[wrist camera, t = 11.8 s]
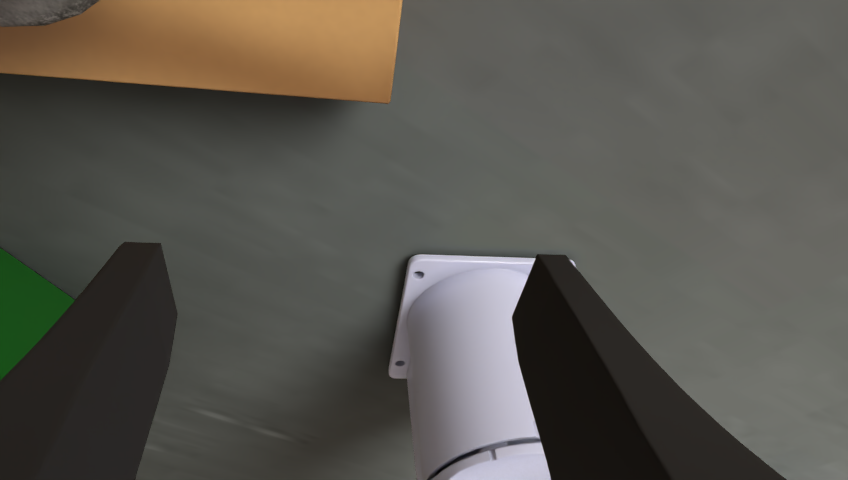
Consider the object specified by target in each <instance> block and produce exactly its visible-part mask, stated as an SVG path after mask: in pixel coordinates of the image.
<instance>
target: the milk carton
mask: <svg viewBox="0 0 848 480" xmlns="http://www.w3.org/2000/svg"><path fill="white" fill-rule="evenodd" d="M74 301H75V300H74V299H73V298H71V297H70V296H69V295H67V294H66V293H64V292H63V291H61V290H60V289H59V288H57V287H56V286H54V285H53V284H51V283H50V282H49V281H47V280H46V279H44V278H43V277H41V276H40V275H38V274H37V273H36V272H34V271H33V270H31V269H30V268H28V267H27V266H26V265H24V264H23V263H21V262H20V261H18V260H17V259H16V258H14V257H13V256H11V255H10V254H8V253H7V252H6V251H4V250H3V249H1V248H0V380H1V379H2V378H3V377H4V376H5V375H6V374H7V373H8V372H9V371H10V370H11V369H12V368H13V367H14V366H15V365H16V364H17V363H18V362H19V361H20V360H21V359H22V358H23V357H24V356H25V355H26V354H27V353H28V352H29V351H30V350H31V349H32V348H33V347H34V346H35V345H36V344H37V343H38V341H39V340H40V339H41V338H42V337H43V336H44V335H45V334H46V333H47V331H48V330H49V329H50V328H51V327H52V326H53V325H54V324H55V323H56V321H57V320H58V319H59V318H60V317H61V316H62V315H63V314H64V312H65V311H66V310H67V309H68V308H69V307H70V306H71V305H72V303H73V302H74Z"/></svg>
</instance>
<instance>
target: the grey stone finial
mask: <svg viewBox="0 0 848 480" xmlns="http://www.w3.org/2000/svg"><path fill="white" fill-rule="evenodd" d="M98 1H99V0H0V26H1V27H17V26H45V25H49V24H52V23H55V22H58V21H61V20H64V19H68V18H71V17H74V16H77V15H80V14H82V13H83V12H85V11H86V10H87V9H89V8H90V7H91V6H93V5H94V4H95V3H97V2H98Z"/></svg>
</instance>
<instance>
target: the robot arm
mask: <svg viewBox="0 0 848 480" xmlns="http://www.w3.org/2000/svg"><path fill="white" fill-rule="evenodd" d="M417 271H420V272H419V273H415V272H417ZM176 320H177V310H176V306H175V302H174V297H173V293H172V289H171V285H170V280H169V276H168V272H167V268H166V264H165V259H164V255H163V251H162V247H161V243H135V242H124V243H123V244H122V245H121V246H119V247H118V249H117V250H116V251H115V252H114V254H113V255H112V256H111V257H110V259H109V260H108V261H107V262H106V264H105V265H104V266H103V267H102V269H101V270H100V271H99V272H98V274H97V275H96V276H95V277H94V278H93V280H92V281H91V282H90V283H89V284H88V286H87V287H86V288H85V289H84V290H83V292H82V293H81V294H80V295H79V296H78V298H77V299H76V300H75V301H74V302H73V303H72V305H71V306H70V307H69V308H68V309H67V310H66V311H65V312H64V314H63V315H62V316H61V317H60V318H59V319H58V320H57V321H56V323H55V324H54V325H53V326H52V327H51V328H50V329H49V330H48V331H47V333H46V334H45V335H44V336H43V337H42V338H41V339H40V340H39V341H38V343H37V344H36V345H35V346H34V347H33V348H32V349H31V350H30V351H29V352H28V353H27V354H26V355H25V356H24V357H23V358H22V359H21V360H20V361H19V362H18V363H17V364H16V365H15V366H14V367H13V368H12V369H11V370H10V371H9V372H8V373H7V374H6V375H5V376H4V377H3V378H2V379H1V380H0V480H135V477H136V474H137V471H138V467H139V464H140V461H141V457H142V454H143V451H144V447H145V444H146V441H147V438H148V434H149V431H150V428H151V424H152V421H153V418H154V414H155V411H156V408H157V404H158V401H159V397H160V394H161V391H162V387H163V384H164V380H165V377H166V374H167V370H168V367H169V362H170V357H171V351H172V345H173V339H174V333H175V327H176ZM388 369H389V376H390V377H392V378H397V379H401V378H407V383H408V394H409V405H410V416H411V427H412V438H413V449H414V460H415V471H416V476H417V480H786V479H785V478H784V477H782V476H781V475H780V474H778V473H777V472H776V471H775V470H773V469H772V468H771V467H770V466H768V465H767V464H766V463H765V462H764V461H762V460H761V459H760V458H759V457H757V456H756V455H755V454H754V453H752V452H751V451H750V450H749V449H748V448H746V447H745V446H744V445H743V444H741V443H740V442H739V441H738V440H737V439H736V438H734V437H733V436H732V435H731V434H730V433H729V432H728V431H726V430H725V429H724V428H723V427H722V426H721V425H720V424H719V423H717V422H716V421H715V420H714V419H713V418H712V417H711V416H710V415H709V414H708V413H707V412H706V411H705V410H703V409H702V408H701V407H700V406H699V405H698V404H697V403H696V402H695V401H694V400H693V399H692V398H691V397H690V396H689V395H687V394H686V393H685V392H684V391H683V390H682V389H681V388H680V387H679V386H678V385H677V384H676V383H675V382H674V380H673V379H672V378H671V377H670V376H669V375H668V374H667V373H666V372H665V371H664V370H663V369H662V368H661V367H660V366H659V365H658V364H657V363H656V362H655V361H654V360H653V358H652V357H651V356H650V355H649V354H648V353H647V352H646V351H645V350H644V349H643V347H642V346H641V345H640V344H639V343H638V342H637V341H636V340H635V338H634V337H633V336H632V335H631V334H630V333H629V332H628V330H627V329H626V328H625V327H624V326H623V325H622V323H621V322H620V321H619V320H618V319H617V317H616V316H615V315H614V314H613V313H612V311H611V310H610V309H609V308H608V307H607V305H606V304H605V303H604V302H603V301H602V299H601V298H600V297H599V296H598V294H597V293H596V292H595V291H594V290H593V288H592V287H591V286H590V285H589V283H588V282H587V281H586V280H585V278H584V277H583V276H582V275H581V273H580V272H579V271H578V270H577V268H576V266H575V263H574V261H572V260H569V259H568V258H567V256H566V255H541V254H537V256H536V258H516V257H486V256H456V255H425V254H419V255H415V256H412V257H411V258H410V259H409V261H408V266H407V271H406V277H405V282H404V287H403V293H402V298H401V304H400V309H399V314H398V320H397V325H396V331H395V336H394V341H393V347H392V352H391V358H390V363H389V368H388Z"/></svg>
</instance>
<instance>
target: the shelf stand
mask: <svg viewBox="0 0 848 480" xmlns="http://www.w3.org/2000/svg"><path fill="white" fill-rule="evenodd" d="M402 2H403V0H99V1H98V2H97V3H95V4H94V5H93V6H91V7H90V8H89V9H87V10H86V11H85V12H83V13H82V14H80V15H77V16H74V17H71V18H68V19H64V20H61V21H58V22H55V23H52V24H49V25H45V26H17V27H1V26H0V73H6V74H19V75H32V76H44V77H57V78H70V79H82V80H95V81H108V82H120V83H133V84H146V85H158V86H171V87H184V88H196V89H209V90H222V91H234V92H247V93H260V94H272V95H285V96H298V97H310V98H323V99H336V100H348V101H361V102H374V103H386V104H388V103H389V102H390V101H391V92H392V84H393V76H394V68H395V59H396V51H397V43H398V35H399V26H400V18H401V10H402Z"/></svg>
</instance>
